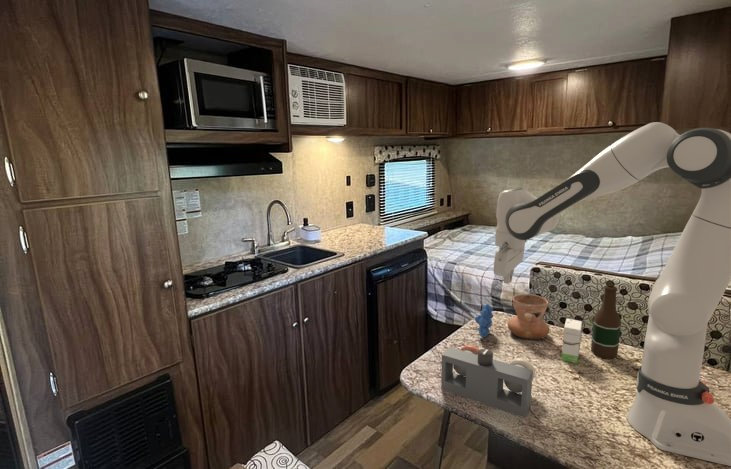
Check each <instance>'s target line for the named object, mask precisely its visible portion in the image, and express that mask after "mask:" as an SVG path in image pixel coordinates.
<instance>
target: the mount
mask: <svg viewBox="0 0 731 469" xmlns="http://www.w3.org/2000/svg"><path fill="white" fill-rule="evenodd" d="M453 364H454V365H457V366H461V367H464V368H466V376H461V375H459V374H458V373H455V372H454V367H453ZM440 373H441V375H440V376H441V380H440V381H441V382H440V383H441V384H440V385H441V386H440V388H441V390H443V391H446V392H448V393H452V394H454V395H457V396H461V397H463V398H465V399H469V400H472V401H474V402H477V403H480V404H484V405H486V406H489V407H492V408H495V409H498V410H499V411H504V412H506V413H510V414H512V415H515V416H517V417H521V418H523V419H526V417H527V415H528V413H529V411H530V409H531V402H532V401H531V400H532V388H533V381H532V374H533V370H530V369H526V368H523V367H519V366H516V365H512V364H510V363H507V362H506V361H505V362H504V361H501V360H497V359H494V358H493V364H492V365H491V366H482V365H480V364H478V355H476V354H473V353H469V352H466V351H462V350H461V349H458V348H454V347H451V346H449V347H448V348H447V349H446V350H445V351H444V352H443V353H442V354H441V372H440ZM504 380H507V381H510V382H513V383H516V384H520V385H522V392H521V393H515V392H512V391H510V390H509V389H506V388H504Z"/></svg>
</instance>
